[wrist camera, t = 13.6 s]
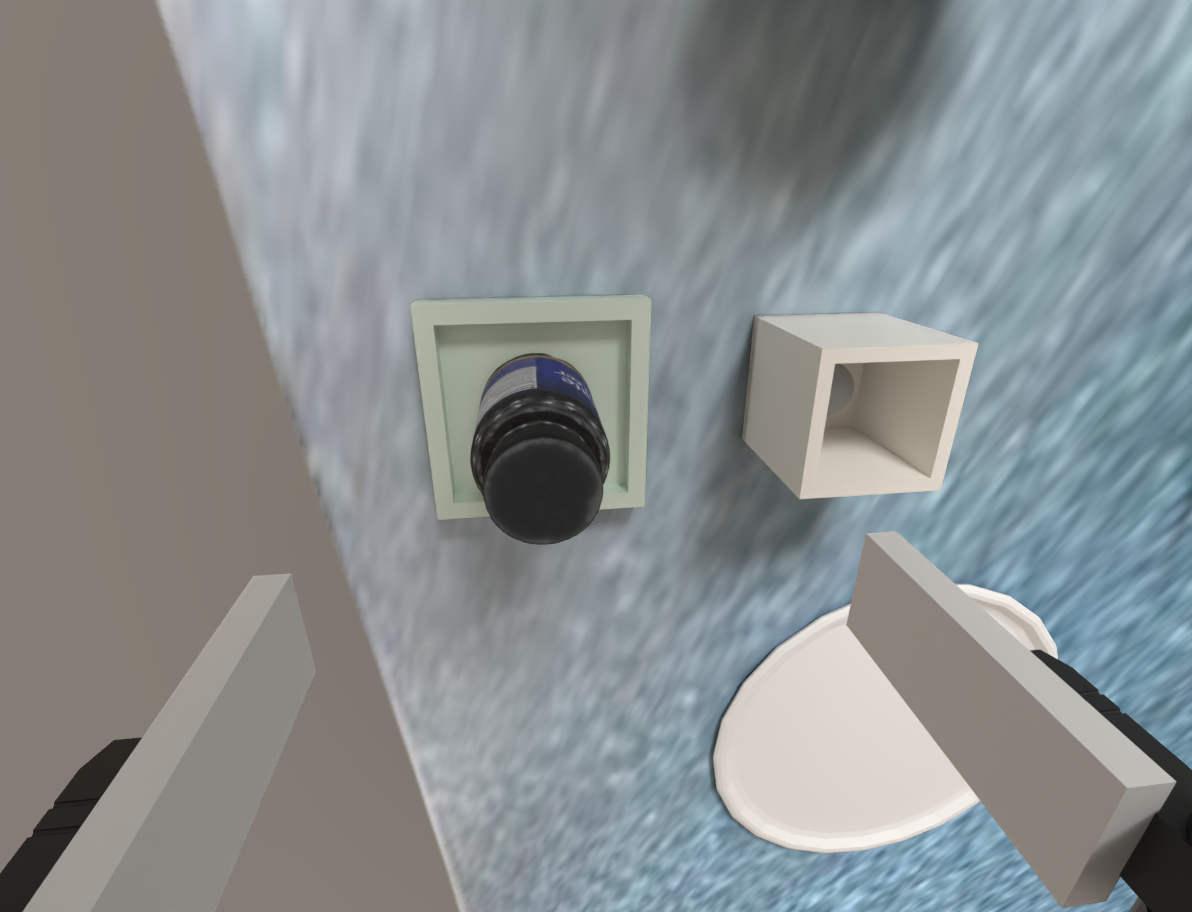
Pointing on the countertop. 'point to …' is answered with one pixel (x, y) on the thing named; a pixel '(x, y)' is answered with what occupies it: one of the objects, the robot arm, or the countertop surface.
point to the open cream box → (854, 402)
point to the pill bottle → (539, 450)
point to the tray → (522, 326)
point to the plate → (842, 742)
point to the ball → (840, 389)
